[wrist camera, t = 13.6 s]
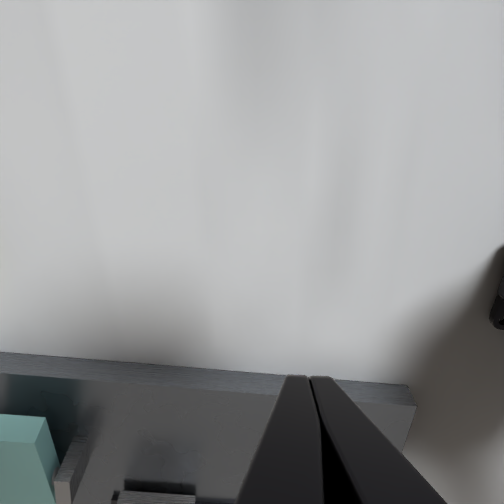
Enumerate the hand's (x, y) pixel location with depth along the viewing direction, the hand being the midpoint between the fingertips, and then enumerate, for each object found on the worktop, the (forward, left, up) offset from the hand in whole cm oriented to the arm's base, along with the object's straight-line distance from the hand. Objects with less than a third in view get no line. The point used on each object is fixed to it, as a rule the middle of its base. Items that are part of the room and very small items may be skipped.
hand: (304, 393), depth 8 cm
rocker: (+11, +14, -9) cm, 20 cm away
